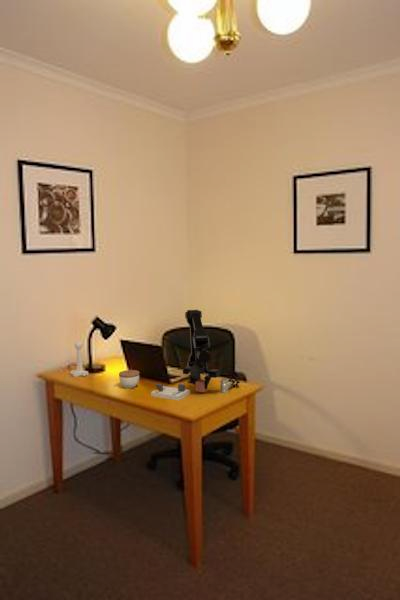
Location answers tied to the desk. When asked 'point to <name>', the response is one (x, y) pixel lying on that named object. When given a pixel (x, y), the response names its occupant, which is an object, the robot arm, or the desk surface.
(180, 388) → the lever
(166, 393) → the panel
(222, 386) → the valve
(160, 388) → the lever tagged
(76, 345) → the joystick
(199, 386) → the block
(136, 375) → the lidded jar
